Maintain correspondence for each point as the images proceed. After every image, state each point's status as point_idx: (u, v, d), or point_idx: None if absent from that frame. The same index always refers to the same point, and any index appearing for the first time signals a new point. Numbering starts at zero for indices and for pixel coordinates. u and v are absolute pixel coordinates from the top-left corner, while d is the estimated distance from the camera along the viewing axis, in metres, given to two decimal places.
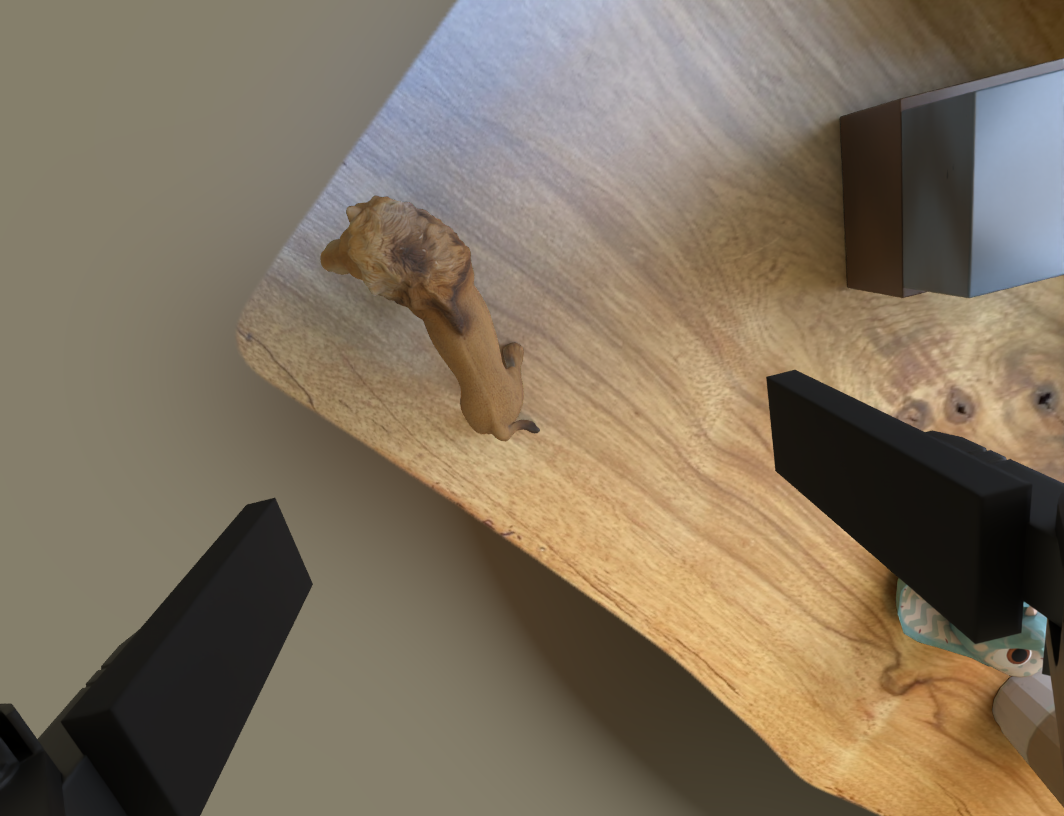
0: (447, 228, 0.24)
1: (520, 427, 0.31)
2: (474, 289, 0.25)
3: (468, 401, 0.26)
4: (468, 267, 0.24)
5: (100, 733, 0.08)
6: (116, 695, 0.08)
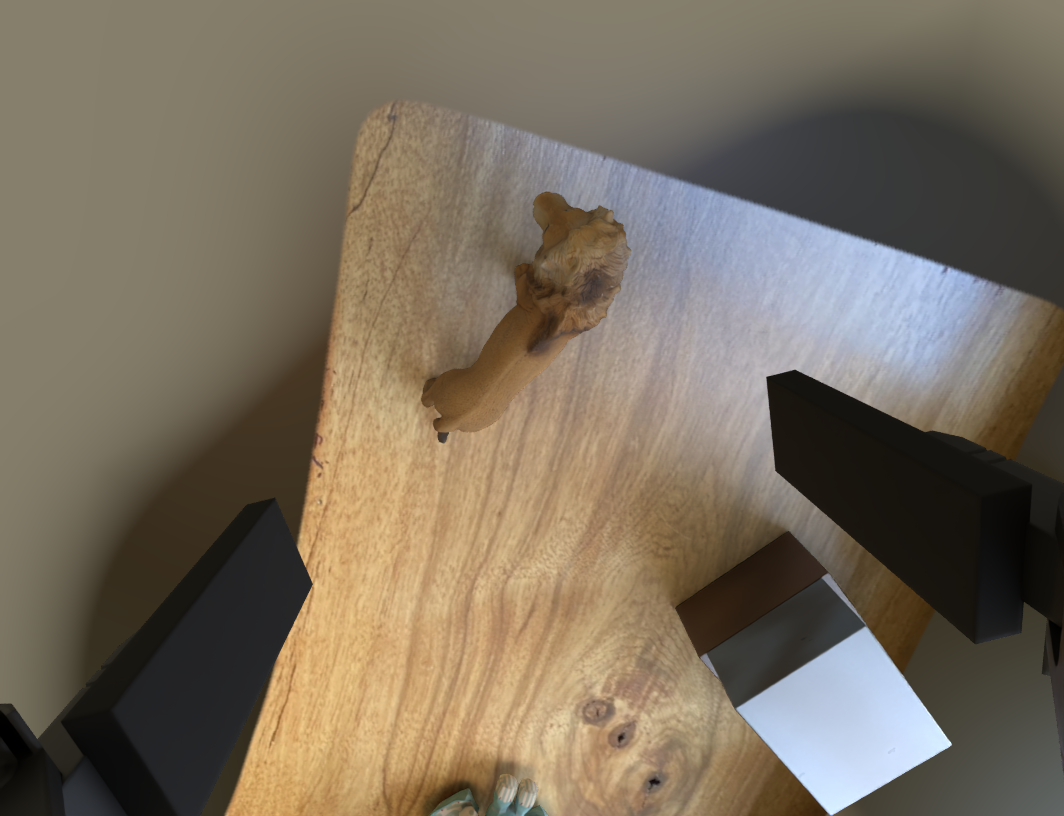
0: None
1: None
2: (568, 340, 0.26)
3: (468, 385, 0.25)
4: (589, 329, 0.25)
5: (100, 733, 0.08)
6: (116, 695, 0.08)
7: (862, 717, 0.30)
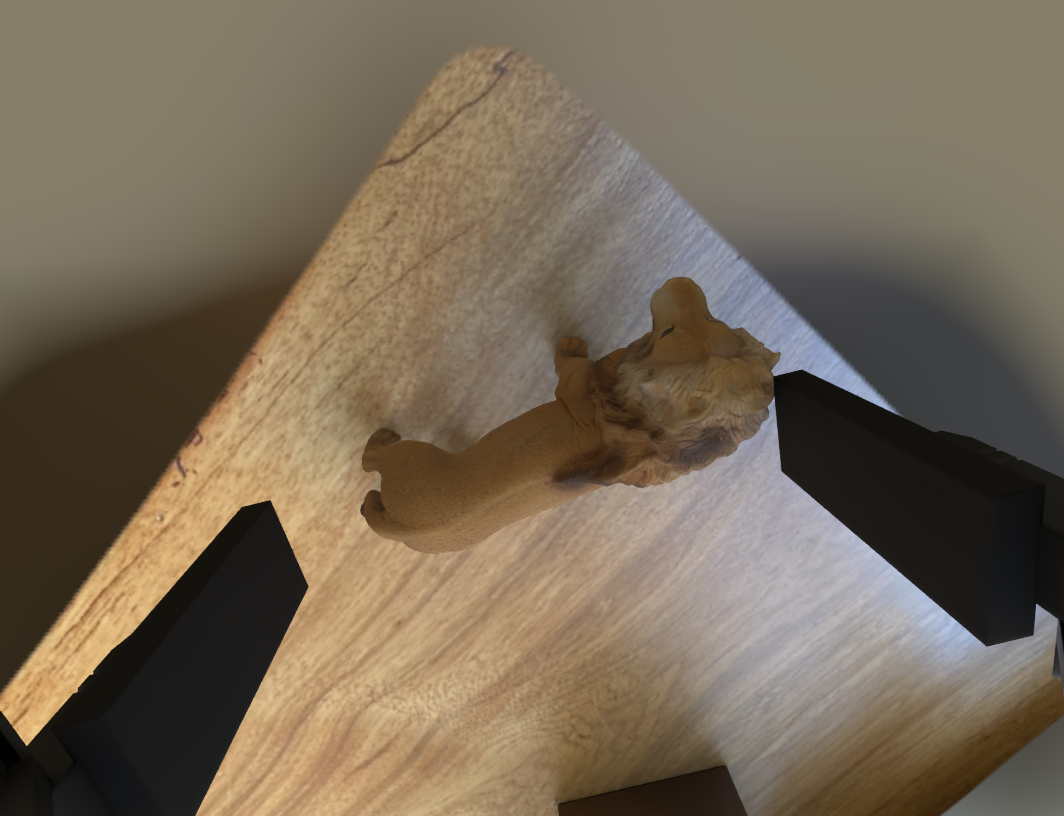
0: None
1: None
2: None
3: (446, 492, 0.16)
4: None
5: (90, 740, 0.08)
6: (106, 701, 0.08)
7: None
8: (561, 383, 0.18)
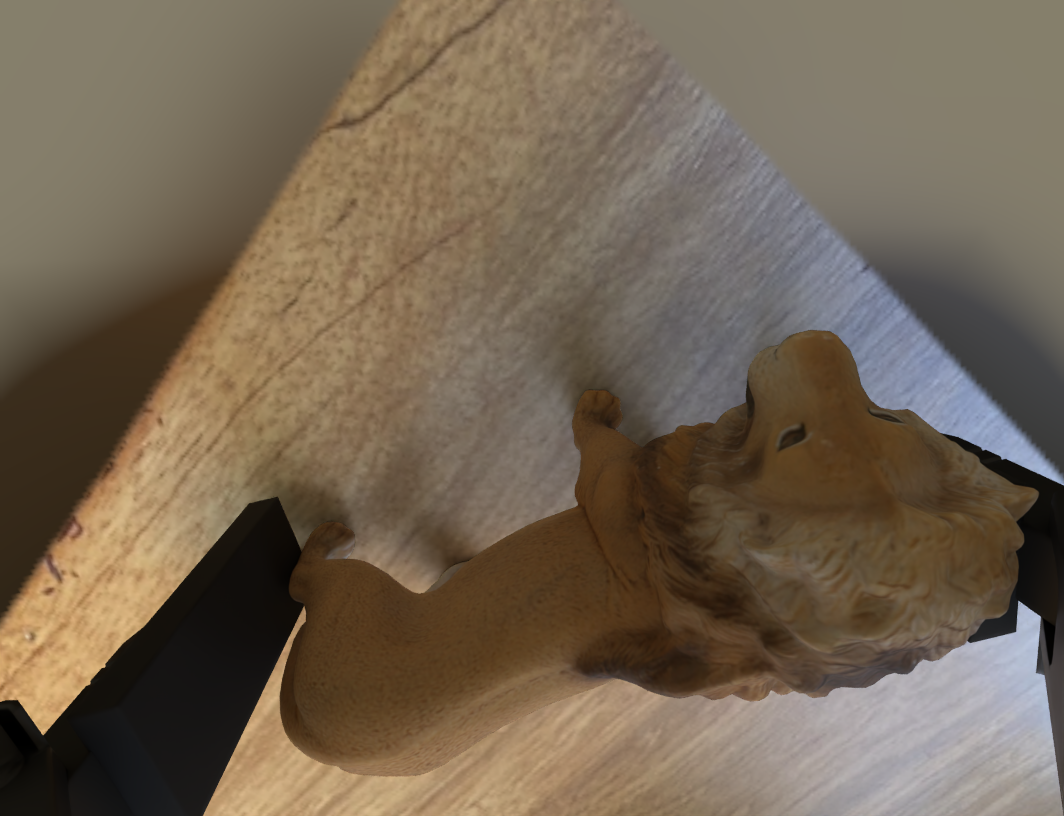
0: None
1: None
2: None
3: (392, 694, 0.09)
4: None
5: (105, 730, 0.08)
6: (121, 692, 0.08)
7: None
8: (585, 480, 0.11)
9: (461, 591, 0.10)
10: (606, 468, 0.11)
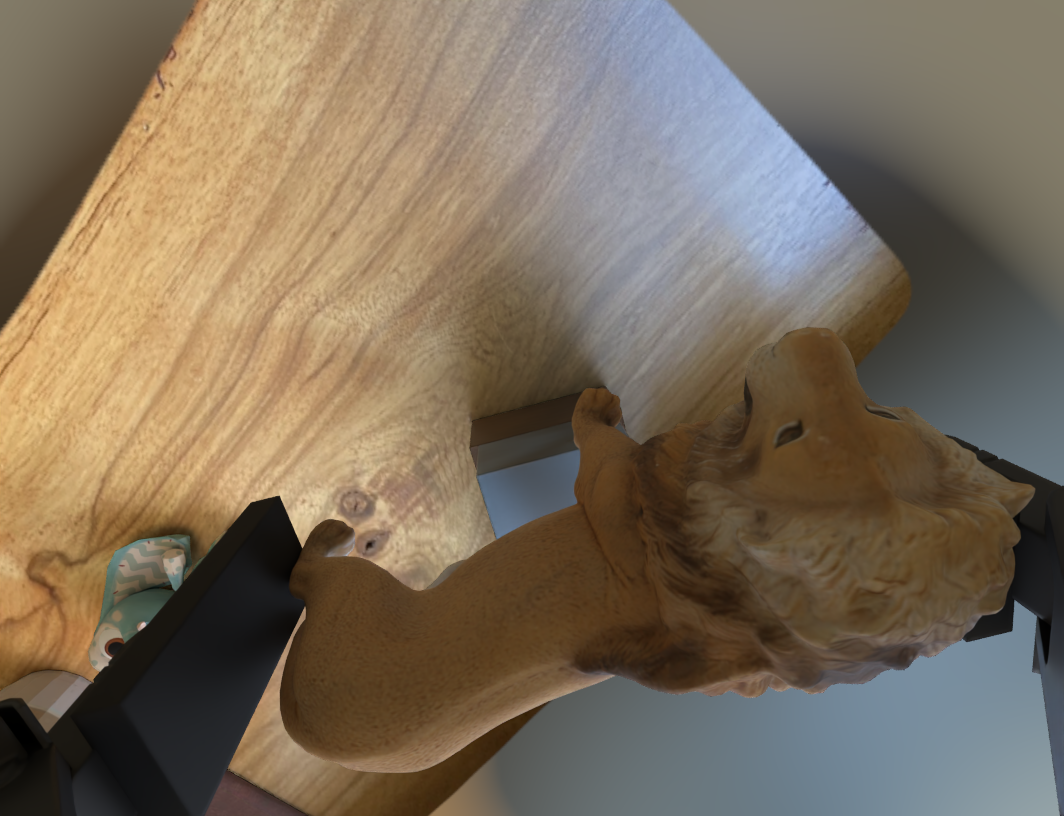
0: None
1: None
2: None
3: (390, 690, 0.09)
4: None
5: (109, 727, 0.08)
6: (124, 690, 0.08)
7: None
8: (584, 477, 0.11)
9: (460, 588, 0.10)
10: (605, 466, 0.11)
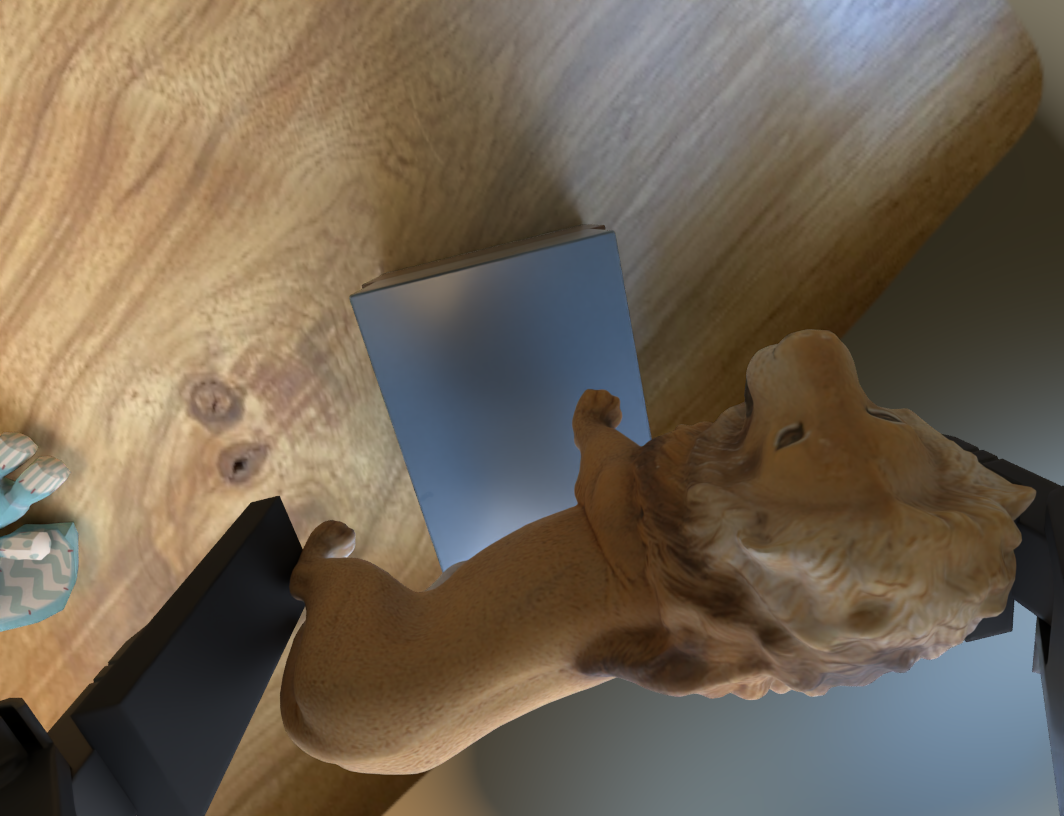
0: None
1: None
2: None
3: (392, 692, 0.09)
4: None
5: (109, 727, 0.08)
6: (125, 689, 0.08)
7: (555, 425, 0.18)
8: (584, 479, 0.11)
9: (461, 590, 0.10)
10: (605, 467, 0.11)
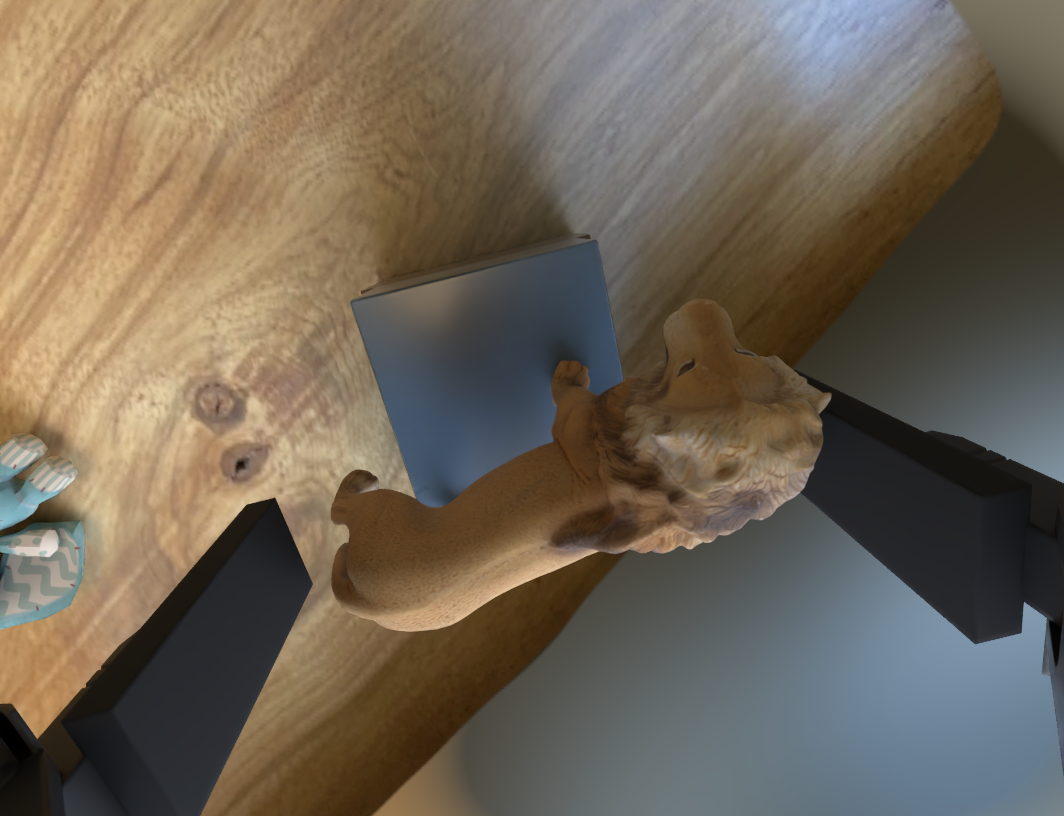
0: None
1: None
2: None
3: (421, 563, 0.13)
4: None
5: (100, 733, 0.08)
6: (116, 695, 0.08)
7: (543, 422, 0.19)
8: (558, 420, 0.15)
9: (468, 498, 0.14)
10: (573, 409, 0.15)
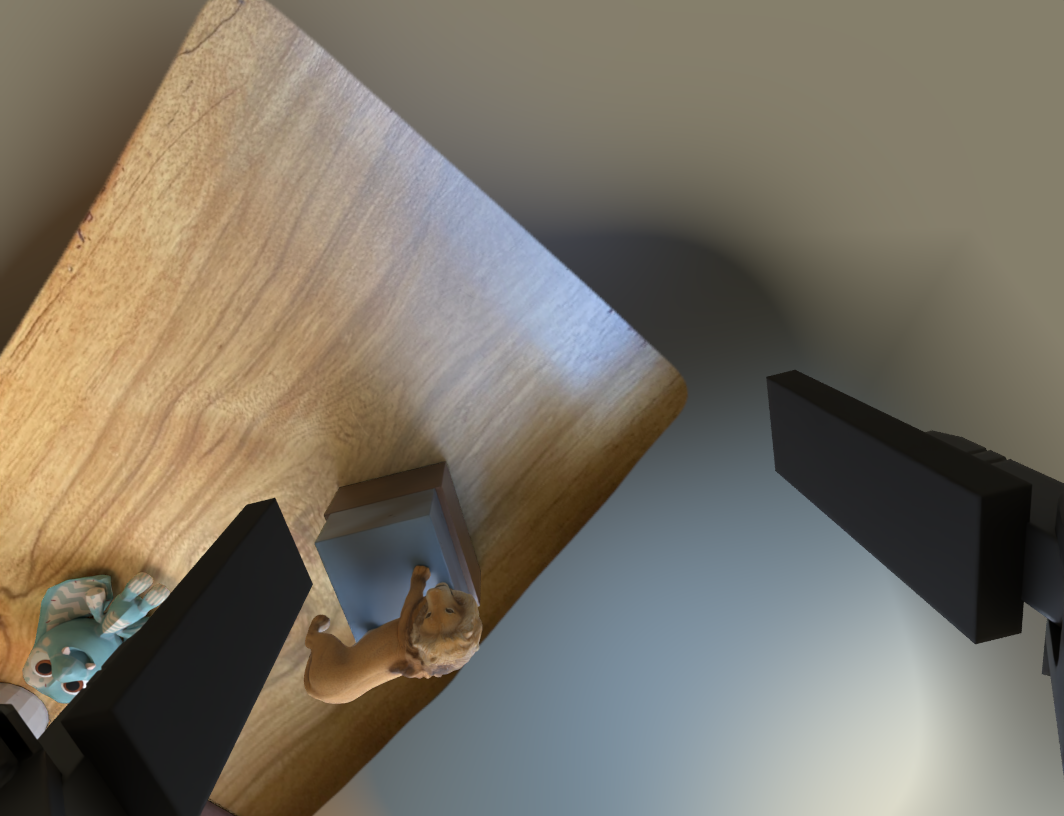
0: None
1: None
2: None
3: (337, 678, 0.33)
4: None
5: (100, 733, 0.08)
6: (116, 695, 0.08)
7: None
8: (402, 609, 0.35)
9: (359, 647, 0.34)
10: (406, 607, 0.35)
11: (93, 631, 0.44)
